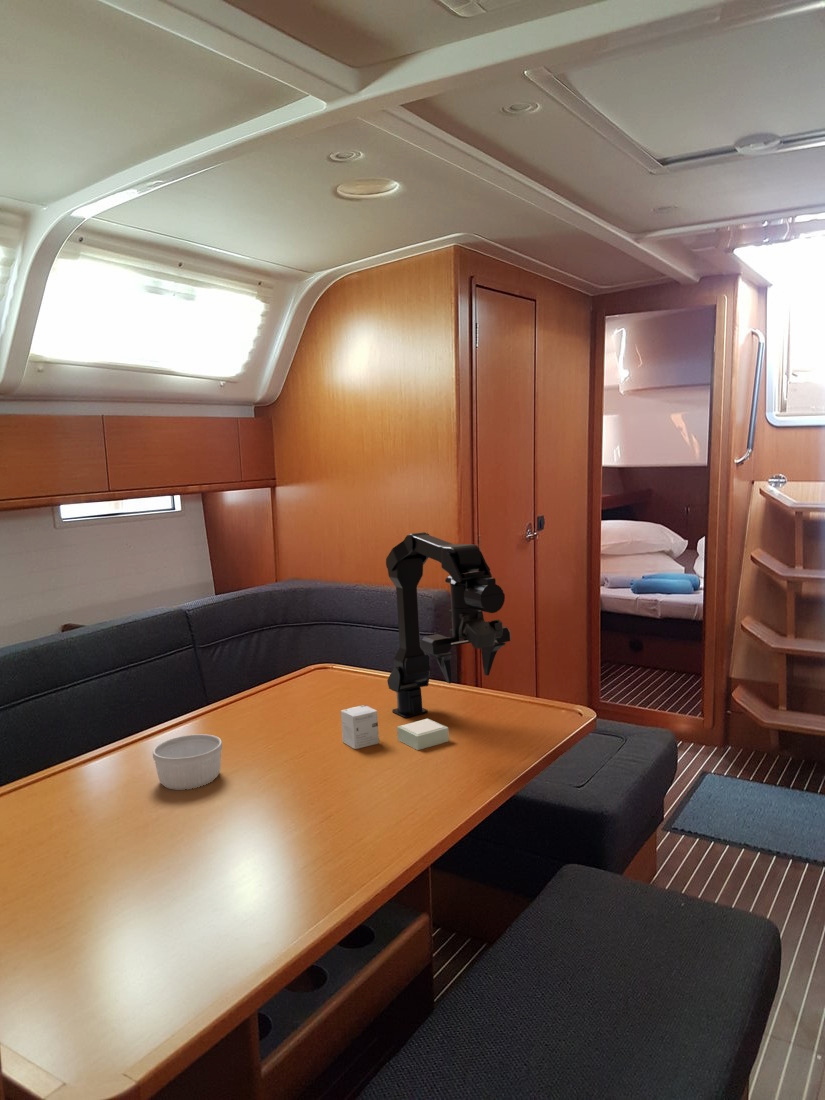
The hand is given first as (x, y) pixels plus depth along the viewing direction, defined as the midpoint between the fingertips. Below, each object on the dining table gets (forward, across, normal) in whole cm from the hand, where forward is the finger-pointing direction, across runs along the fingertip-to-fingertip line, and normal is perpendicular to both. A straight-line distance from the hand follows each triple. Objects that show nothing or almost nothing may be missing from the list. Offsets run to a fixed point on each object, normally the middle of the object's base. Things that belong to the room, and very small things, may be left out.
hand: (468, 679), depth 160 cm
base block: (+14, -7, +8) cm, 18 cm away
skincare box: (+15, -19, +15) cm, 28 cm away
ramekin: (+15, -55, +17) cm, 59 cm away
